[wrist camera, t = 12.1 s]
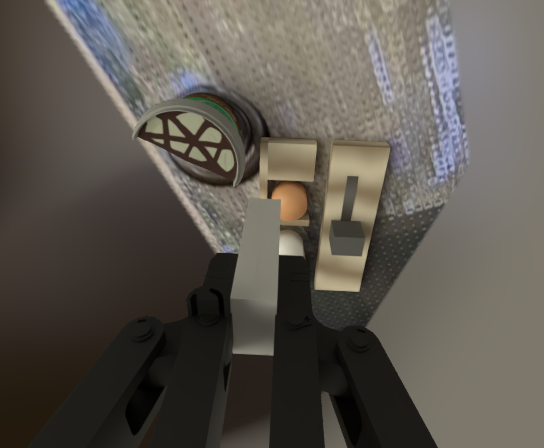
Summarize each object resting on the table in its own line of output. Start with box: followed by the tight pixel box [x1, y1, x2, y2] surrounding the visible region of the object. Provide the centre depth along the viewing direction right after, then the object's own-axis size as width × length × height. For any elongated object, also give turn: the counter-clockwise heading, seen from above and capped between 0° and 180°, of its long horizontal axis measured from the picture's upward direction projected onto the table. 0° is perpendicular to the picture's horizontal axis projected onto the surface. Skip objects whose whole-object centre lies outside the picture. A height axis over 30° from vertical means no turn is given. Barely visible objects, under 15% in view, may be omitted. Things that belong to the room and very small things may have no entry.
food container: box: [132, 93, 245, 187], centre depth 39 cm, size 12×6×10 cm, turn 63°
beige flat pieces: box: [260, 137, 391, 292], centre depth 51 cm, size 24×16×2 cm, turn 178°
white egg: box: [279, 230, 304, 257], centre depth 50 cm, size 5×5×3 cm
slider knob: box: [329, 220, 365, 257], centre depth 48 cm, size 3×4×4 cm
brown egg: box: [271, 180, 307, 221], centre depth 48 cm, size 5×5×3 cm
